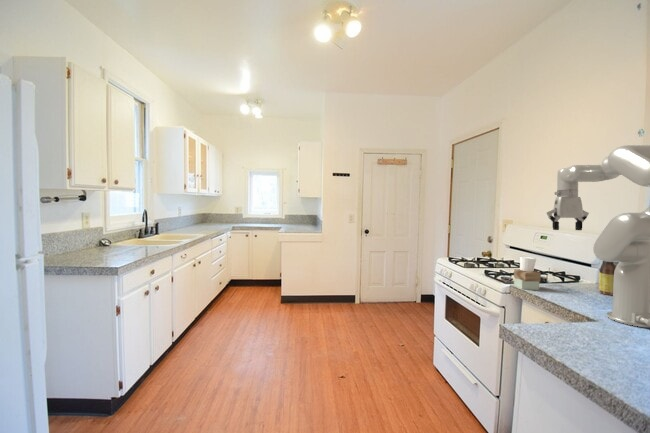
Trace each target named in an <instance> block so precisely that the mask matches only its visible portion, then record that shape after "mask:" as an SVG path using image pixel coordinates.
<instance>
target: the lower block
mask: <svg viewBox="0 0 650 433" xmlns="http://www.w3.org/2000/svg"><path fill="white" fill-rule="evenodd" d="M513 278H514V277H513ZM513 285H514V286H515V287H517V288H518V289H521V290H524V291H525V290H528V291H540V281H523V280H520V279H517V278H514V279H513Z"/></svg>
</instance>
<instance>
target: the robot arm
mask: <svg viewBox="0 0 650 433" xmlns="http://www.w3.org/2000/svg"><path fill="white" fill-rule="evenodd" d="M619 176H622V177H625V178H626V179H628V180H629V181H631V182H632V183H634V184H635V185H638V186H641V187H646V188H650V144H647V145H645V144H644V145H643V144H642V145H639V144H638V145H636V144H634V145H621V146H619V147H616V148H615V149H613V150H612V151H611V152H610V153H609V154H608V156H606V157H604V159H603V160H602V161H601V164H575V165H571V166H569V167H567V168H560V169H559V170H557V179H556V180H557V181H556V182H557V184H556V186H557V187H556V191H555V192H554V195H556V197H555V200H554V203H553V209H552V210H549V211H547V212H546V215H547V216H548V217H547V218H548V219H549V220H550V221H551V222H552V230H554V231H559V230H560V222H559V221H560V219H568V218H569V219H571V218H572V219H573V218H574V220H575V222H574V223H575V231H582V229H583V223H584V221H586V219H587V217H588V216H589V214H590V213H589V212H588V211H586V210H584V209H583V203H582V199H581V196H579V183H582V182H583V183H588V182H589V183H590V182H591V183H598V182H604V181H609V180H613V179H617V178H618V177H619ZM593 253H594V256H595V257H596V258H597V259H598V260H599V261H600V260H601V261H602V262H603V261H606V262H614V263H617V264H616V265H615V266H616V268H615V271H614V283H613V296H612V311H608V312H606V317H607V318H608V317H609V318H608V319H610V320H611V321H614V320H615V321H614V322H616V323H621V324H623V323H624V324H623V325H627V324H628V326H632V325H633V327H637V326H638V327H637V328H647V329H649V328H650V205H648V206H647V208H645V210H643V211H642V212H624V213H620V214H618V215H616V216H614V217H613V218H612V219H610V220H609V222H608V223H607V225H606V226H605V227H604V228H603V230H602V231H601V233H600V234H599V236H598V237H597V239H596V240H595V242H594V244H593Z"/></svg>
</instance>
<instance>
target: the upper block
mask: <svg viewBox="0 0 650 433" xmlns="http://www.w3.org/2000/svg"><path fill="white" fill-rule="evenodd" d="M513 272H514V274H513V275H514V276H513V278H517V279H520V280H523V281H539V282H541V279H542V278H541V274H542V273H541V272H540V271H536V270H533V272H527V271H522V270H520V268H519V269H517V268H516V269H514V271H513Z"/></svg>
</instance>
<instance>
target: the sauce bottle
mask: <svg viewBox="0 0 650 433" xmlns="http://www.w3.org/2000/svg"><path fill="white" fill-rule="evenodd" d="M616 266H617V265H615V262H606V261H603V260H602V262H601V265H600V268H599V270H598V279H599V280H598V282H599V283H598V290H599V293H600V294H601V295H602V294H603V295H606V296H612V297H613V283H614V271H615V268H616Z"/></svg>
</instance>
